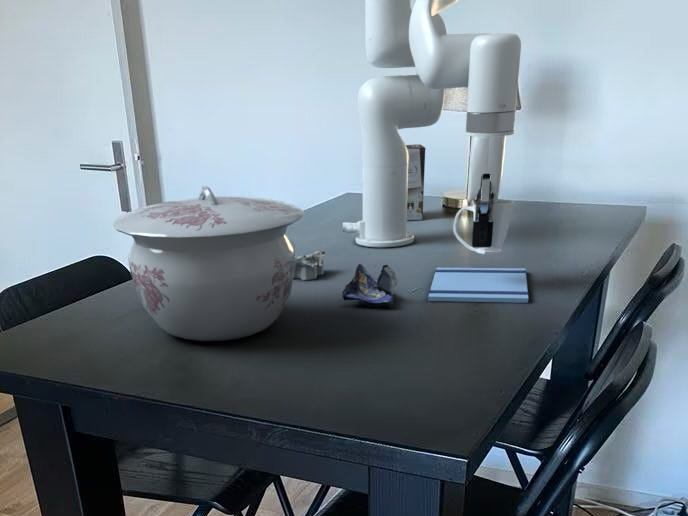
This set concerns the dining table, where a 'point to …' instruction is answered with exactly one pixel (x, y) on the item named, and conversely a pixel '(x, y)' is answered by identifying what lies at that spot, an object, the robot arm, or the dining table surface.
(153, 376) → the dining table surface
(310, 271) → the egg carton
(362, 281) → the snack package
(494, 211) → the cup
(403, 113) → the robot arm
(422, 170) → the coffee box
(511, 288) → the towel
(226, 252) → the chamber pot
